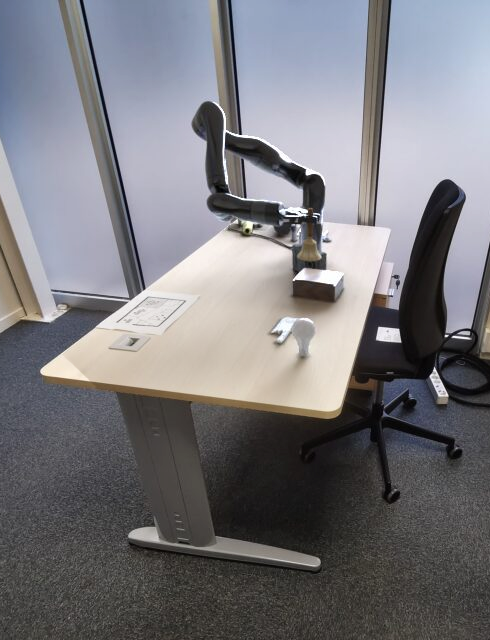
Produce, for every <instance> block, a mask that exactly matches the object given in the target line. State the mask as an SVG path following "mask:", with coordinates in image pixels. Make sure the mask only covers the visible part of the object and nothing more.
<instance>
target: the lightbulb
mask: <svg viewBox="0 0 490 640" xmlns="http://www.w3.org/2000/svg"><path fill="white" fill-rule="evenodd" d="M296 319H297V320H296V321H295V322H294V323H293V325H292V328H291V331H290V333H291V336H292V337H293V339H294V340H295V341H296V343H297V347H298V355H299V356H301V357H306V356H308V355H309V351H310V350H309V349H310V348H309V346H310V345H311V341H312V340H313V338H314V337H315V335H316V326H315V324H314V322H313V321H312V320H311V319H309V318H307V317H299V318H296Z"/></svg>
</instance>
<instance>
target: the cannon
mask: <svg viewBox="0 0 490 640" xmlns="http://www.w3.org/2000/svg"><path fill="white" fill-rule="evenodd" d="M242 223H243V225H242ZM237 224H238V226H242V231H243V233H242V234H244V235H246V236H250V235H251V233H253V227H254V226H253V224H254V223H253V222H245V221H241V220H239V219H238V218H237ZM258 226H259V227H261V226H262V224H258Z"/></svg>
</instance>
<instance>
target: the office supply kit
mask: <svg viewBox="0 0 490 640" xmlns="http://www.w3.org/2000/svg"><path fill="white" fill-rule="evenodd" d="M284 208H285V209H288V208H291V206H287V207H284ZM297 226H298V224H289V225H284V224H282V226H272V227H273V231H274V232H275V233H276V234H277V235H279V236H282V237H283V236H288V235H289V234H290V233H291V242H296V241H297V240H298V237H299V232H300V231H301V227H300V229H299V230H297ZM328 232H329V231H328V230H326V231H324V233H323V234H322V242H326V243H329V242H330V241H331V238H330V237H327V234H328ZM297 236H298V237H297Z"/></svg>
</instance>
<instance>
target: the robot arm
mask: <svg viewBox="0 0 490 640" xmlns="http://www.w3.org/2000/svg"><path fill="white" fill-rule="evenodd" d="M191 129H192V131H193V133H194V134H195V135H196V136H197V137H199V138H200V139H201V140H203V141H204V142H206V149H205V161H204V170H205V178H206V179H205V180H206V186H207V188H208V190H209V192H210V195H208V196H207V199H206V207H207V209H208V210H209V212H210V213H211V214H212V215H213V216H214V217H215V218H216V219H217V220H218V221H220V222H222V223H229V222H230V221H232V220H233V218H236V219H237V220H238V219H239V220H241V221H242V222H244V221H245V222H253V224H254V223H255V224H258V225H259V224H261V225H262V226H263V225H265V226H272V227H273V226H282V224H284V225H289V224H296V225H299V226H300V228H301V231H300V232H299V231H298V232H299V236H298V244H299V243H300V244H302V245H303V241H304V240H306V239H307V235H308V234H307V233H308V227H307V223H313V228H312V239H313V240H314V241H316V245H317V250H319V251H322V252H323V240H322V235H323V234H324V233H323V231H324V230H323V228H324V227H323V225H324V224H323V223H324V222H323V221H324V210H325V205H326V182H325V179H324V177H323V176H322V174H320V173H319V172H316V171H314V170H312V169H309V168H307V167H305V166H302V165H300V164H298V163H296V162H295V161H292V159H290V158H289V157H288V156H287V155H285V154H284V153H283V152H282V151H280V150H279V149H278V148H277V147H275V146H274V145H271V144H270V143H269V142H267V141H266V140H264V139H261V138H259V137H255V136H248V135H239V134H235V133H232V132H229V131H228V130H226V115H225V113H224V111H223V109H222V108H221V106H219V104H217V103H216V102H214V101H210V100H205V101H203V102H202V103H201V104H200V105H199V106H198V108H197V110H196V111H195V114H194V116H193V118H192V119H191ZM226 151H227V152H229V153H230V154H233V155H234V156H237V157H238V158H240V159H243V160H244V161H246V162H247V163H249V164H251V165H252V166H255V167H256V168H257V169H260V170H261V171H263V172H265V173H267V174H269V175H272V176H275V177H277V178H281V179H282V180H285V181H286V182H288V183H289V184H290V185H292V186H293V187H295V188H296V189H298V190H299V191H301V193H302V205H300V207H297V206H296V207H294V208H293V207H290V208H288V209H285V208H286V207H285V205H284V204H283V202H281V201H273V200H265V199H249V198H241V197H238V196H235V195H232V192H231V189H230V185H229V183H230V182H229V176H228V170H227V161H226ZM309 208H312V210H313V214H314V216H310V215H307V212H308V209H309ZM227 230H230V231H234V232H237V233H242V234H244V233H243V230H239V229H234V228H232V227H231V228H230V227H227ZM250 235H251V236H257V237H262V238H264V239H268V240H271V241H273V242H275V243H277V244H279V245H282V246H284V247H285V248H287V249H292V246H290V245H288V244H285V243H284V242H281V241H279V240H277V239H275V238H272V237H269V236H266V235H263V234H258V233H253V232H252V233H251V234H250Z"/></svg>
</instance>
